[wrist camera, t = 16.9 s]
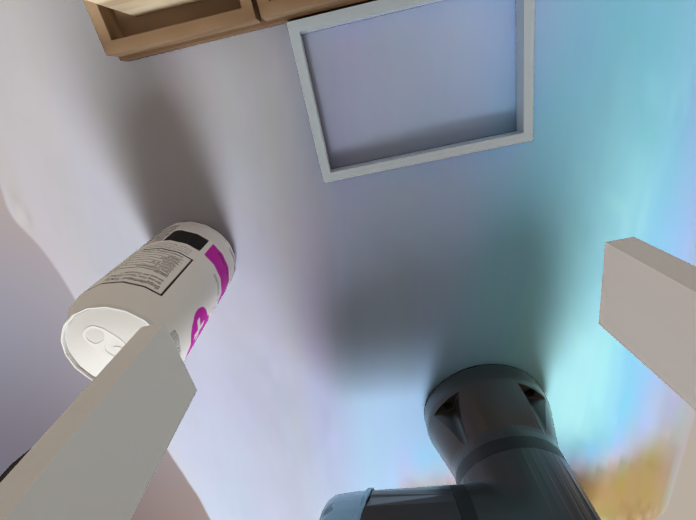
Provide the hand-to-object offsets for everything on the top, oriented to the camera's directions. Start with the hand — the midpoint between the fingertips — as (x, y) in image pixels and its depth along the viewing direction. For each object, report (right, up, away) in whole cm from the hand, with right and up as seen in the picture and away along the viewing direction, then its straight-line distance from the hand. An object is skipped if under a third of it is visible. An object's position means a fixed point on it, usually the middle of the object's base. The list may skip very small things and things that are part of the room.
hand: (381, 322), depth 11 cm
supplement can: (-17, +2, +27) cm, 32 cm away
